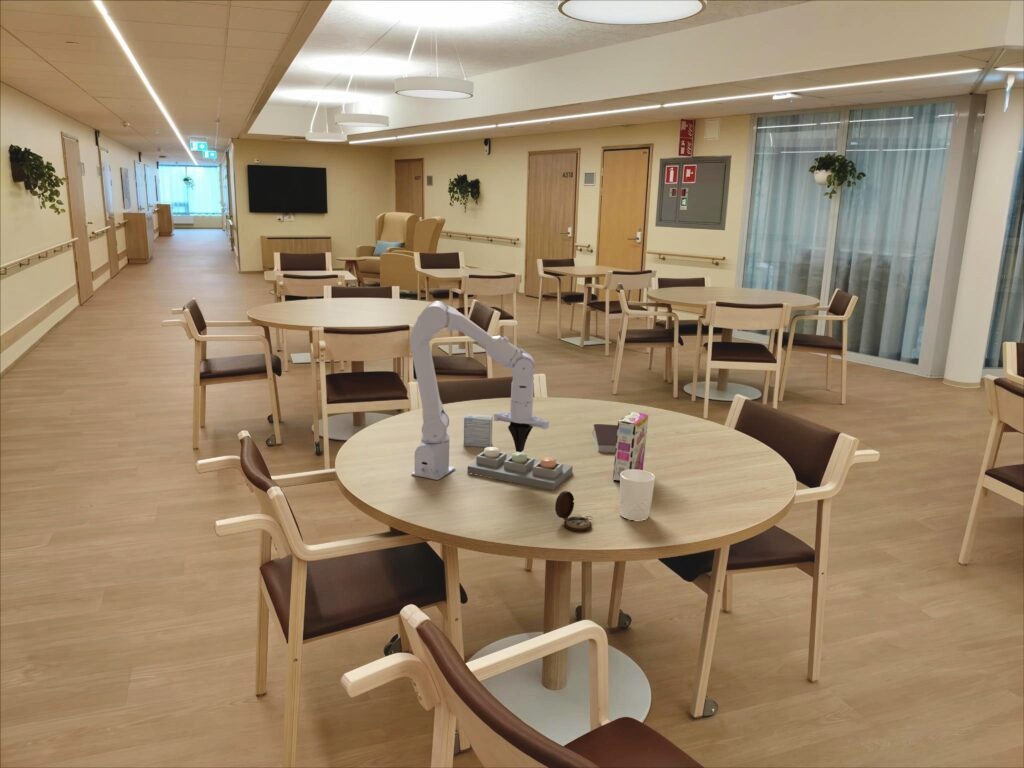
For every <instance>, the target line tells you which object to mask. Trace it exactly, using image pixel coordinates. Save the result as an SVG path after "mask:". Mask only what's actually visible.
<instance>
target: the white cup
mask: <svg viewBox="0 0 1024 768" xmlns="http://www.w3.org/2000/svg"><path fill="white" fill-rule="evenodd" d="M655 479H656V475H655V474H654V473H652V472H650V471H647V470H645V469H643V470H638V469H629V470H624V471H622V472H621V473H620V482H619V516H620V515H621V516H622V517H624V518H627V519H633V520H642V519H646V518H647V517H649V518H650V510H651V506H652V501H653V497H654V496H653V495H654V489H655V488H654V487H655V482H656V481H655ZM621 516H620V517H621ZM622 517H621V518H622ZM624 518H623V519H624Z"/></svg>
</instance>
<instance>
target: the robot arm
mask: <svg viewBox="0 0 1024 768" xmlns="http://www.w3.org/2000/svg"><path fill="white" fill-rule="evenodd" d="M444 328H446V331H459V332H461V334H464V335H465V336H467V337H469V338H470V339H472V340H473V341H475V342H476V343H478V344H480V345H481V346H483V347H484V348H485V352H486V355H487V356H489V357H490V358H491V359H493V360H494V361H496V362H497V363H499V364H501V365H502V366H503V367H505V368H506V369H511V373H512V381H511V385H510V387H511V388H510V390H511V391H510V407H509V409H510V410H509V411H510V412H500V411H496V412H495V413H494V414H493V421H495V422H505V423H509V425H508V426H507V429H508V431H509V433H510V435H511V438H512V440H513V443H514V447H515V452H523V451H524V450H525V445H526V443H527V439H528V437H529V435H530V433H531V431H532V429H533V428H534V427H536V428H540V429H542V430H547V429H548V428H549V422H550V421H549V420H548V419H544V418H541V417H537V416H534V415H533V412H534V411H533V410H534V409H533V408H534V407H533V406H534V389H535V388H534V386H535V383H534V379H535V376H534V375H535V373H536V364H535V360H534V358H533V357H532V355H531V354H530V353H529V352H527V351H525V350H524V349H523V348H518V346H516V345H514V344H512V343H511V342H510V341H509V338H508V337H507V336H505V335H504V336H503V337H502V336H501V335H495V336H493V335H491V334H490V333H489V332H487V331H486V330H484V329H483V328H481V327H480V326H479V325H478V324H476V323H475V322H473V321H472V320H471V319H469V318H468V317H467V316H465V314H462V313H461V312H459V311H458V310H457V309H455V308H454V307H451V306H448V305H447V304H446V303H445V302H443V301H441V300H439V301H438V300H436V301H432V302H430V303H429V304H427V306H426V307H425V308H424V309H423V310H422V312H421V313H420V314H419V315H418V317H417V320H416V321H415V324H414V327H413V328H412V331H411V333H410V335H409V346H410V351H411V355H412V361H413V366H414V371H415V376H416V380H417V386H418V390H419V392H418V393H419V397H420V401H421V406H422V408H421V409H422V412H421V413H422V421H423V422H422V423H423V424H422V427H421V434H422V435H421V440H420V444H419V445H418V446H417V447H416V449H415V451H414V471H412V472H411V475H412V476H416V477H420V478H426V479H431V480H436V481H438V480H440V479H443V478H444V477H445V476H446V475H448V474H450V473H451V472H453V471H454V470H455V469H456V467H455V466H452V465H451V466H450V436H449V434H448V431H447V430H448V427H449V426H450V425H449V424H450V418H449V416H448V414H447V413H446V411H445V409H444V405H443V402H442V400H441V395H440V392H439V386H438V381H437V375H436V370H435V364H434V360H433V354H432V351H431V350H432V349H431V344H430V341H431V340H432V339H433V337H434V336H435V335H436V334H437V333H439V332H441V330H443V329H444Z"/></svg>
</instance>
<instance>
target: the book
mask: <svg viewBox="0 0 1024 768" xmlns="http://www.w3.org/2000/svg"><path fill="white" fill-rule="evenodd" d="M617 429H618V424H603V423H595V424H593V430H592V437H593V439H594V442H595V445H597V446H596V449H598V452H597V453H608V452H615V451H616V440H617Z"/></svg>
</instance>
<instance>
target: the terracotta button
mask: <svg viewBox="0 0 1024 768" xmlns="http://www.w3.org/2000/svg"><path fill="white" fill-rule="evenodd" d="M539 460H540V467H541V468H546V469H551V470H553V469H555V468H556V463H557V459H556V458H554V457H551V456H545V457H544V456H543V457H541V458H540V459H539Z"/></svg>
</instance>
